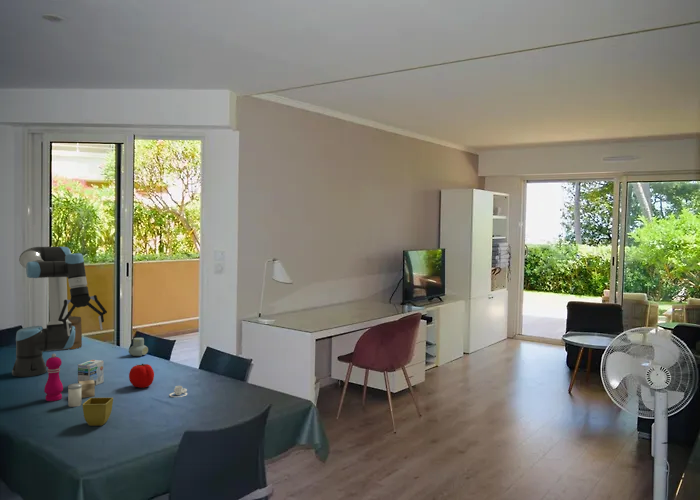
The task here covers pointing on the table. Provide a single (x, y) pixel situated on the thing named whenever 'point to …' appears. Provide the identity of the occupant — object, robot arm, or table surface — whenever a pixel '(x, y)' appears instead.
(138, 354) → the air freshener
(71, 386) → the salt shaker
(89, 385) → the light oak block
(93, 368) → the light bulb box
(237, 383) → the table surface
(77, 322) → the wooden container
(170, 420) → the table surface
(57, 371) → the pepper mill
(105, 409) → the flower pot
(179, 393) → the teacup and saucer
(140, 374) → the tomato
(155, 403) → the table surface
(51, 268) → the robot arm
